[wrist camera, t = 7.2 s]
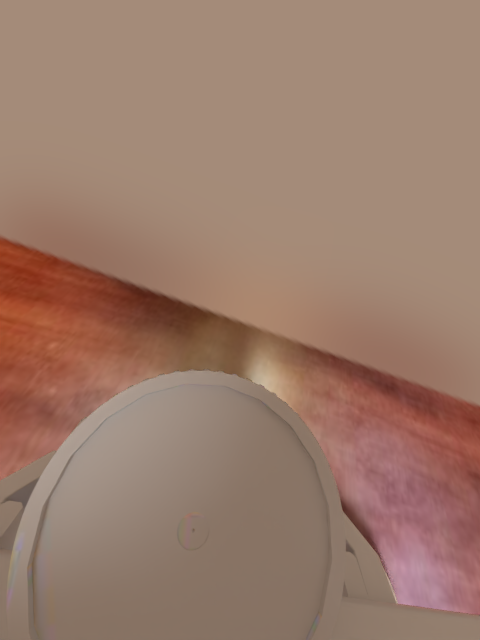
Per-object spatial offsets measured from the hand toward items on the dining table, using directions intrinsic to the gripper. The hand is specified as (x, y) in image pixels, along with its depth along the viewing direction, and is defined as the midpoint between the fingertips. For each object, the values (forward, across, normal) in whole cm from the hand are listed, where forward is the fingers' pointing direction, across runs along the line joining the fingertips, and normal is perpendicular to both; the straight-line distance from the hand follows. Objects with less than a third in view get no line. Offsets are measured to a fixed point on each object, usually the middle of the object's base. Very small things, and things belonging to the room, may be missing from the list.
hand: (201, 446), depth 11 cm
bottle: (+6, 0, +7) cm, 9 cm away
